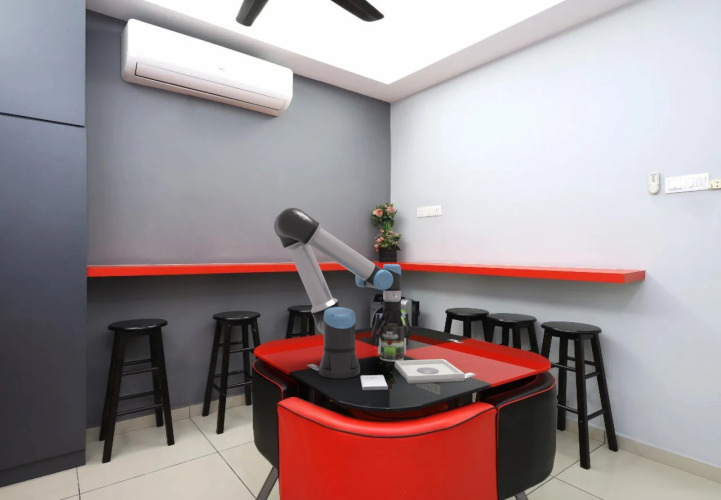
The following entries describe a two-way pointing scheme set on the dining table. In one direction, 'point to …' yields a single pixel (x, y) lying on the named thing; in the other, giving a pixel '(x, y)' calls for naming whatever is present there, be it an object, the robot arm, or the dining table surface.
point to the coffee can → (392, 342)
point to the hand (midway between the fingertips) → (391, 353)
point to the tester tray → (428, 371)
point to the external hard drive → (373, 382)
